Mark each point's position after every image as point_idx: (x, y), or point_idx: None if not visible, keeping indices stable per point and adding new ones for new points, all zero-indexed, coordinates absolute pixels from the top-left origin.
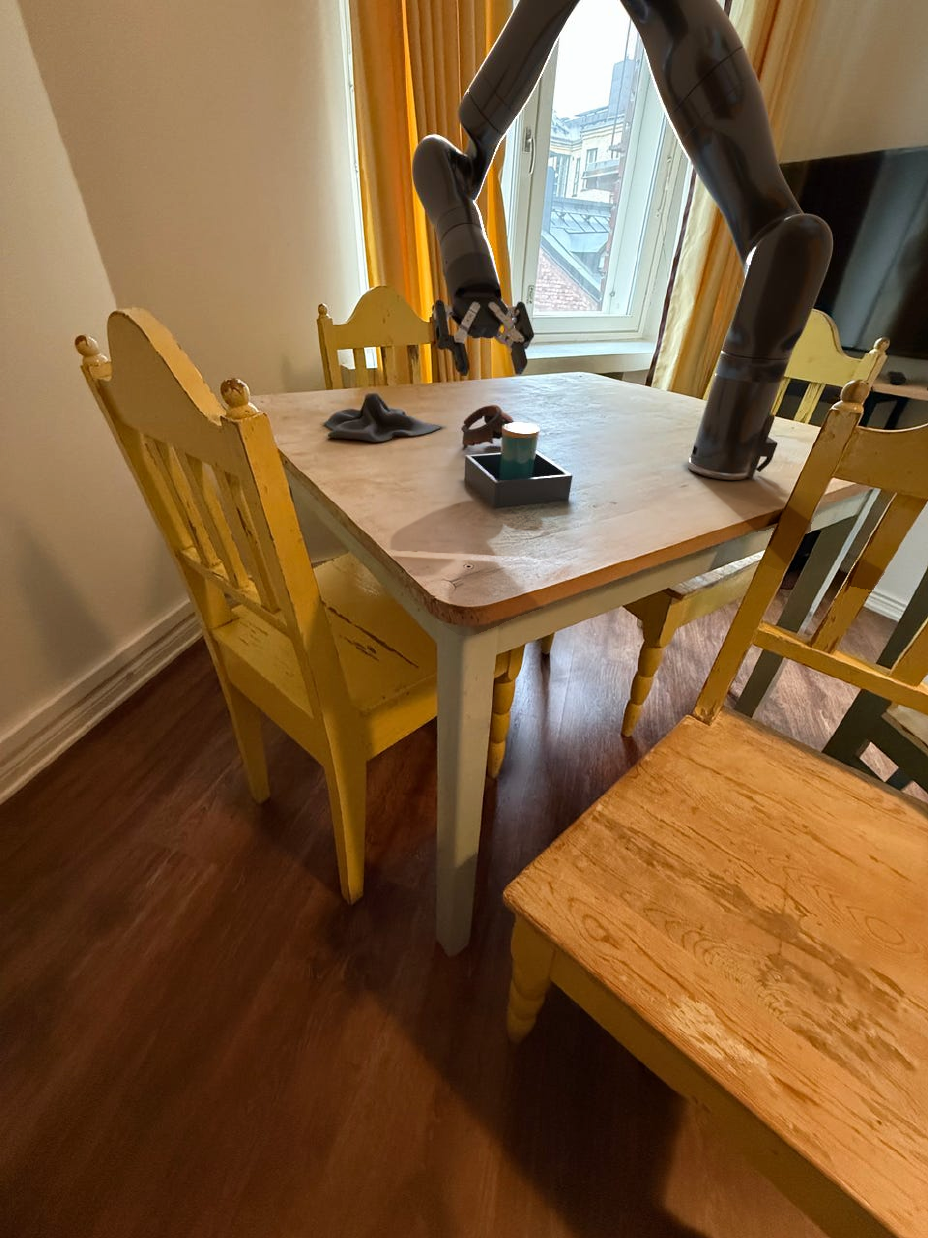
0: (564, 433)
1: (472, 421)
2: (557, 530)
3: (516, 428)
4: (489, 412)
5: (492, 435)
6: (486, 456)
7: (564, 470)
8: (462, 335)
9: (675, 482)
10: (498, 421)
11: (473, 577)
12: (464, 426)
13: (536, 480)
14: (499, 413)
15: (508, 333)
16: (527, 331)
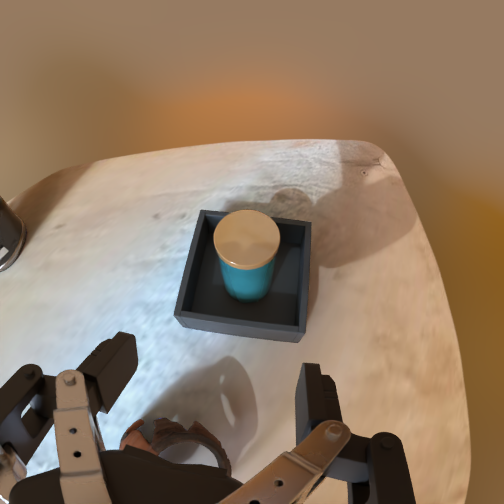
0: None
1: None
2: (261, 188)
3: (256, 234)
4: None
5: (191, 426)
6: (269, 323)
7: (197, 225)
8: (312, 442)
9: (55, 237)
10: (168, 434)
11: (364, 162)
12: None
13: None
14: (158, 443)
15: (91, 414)
16: (29, 382)
